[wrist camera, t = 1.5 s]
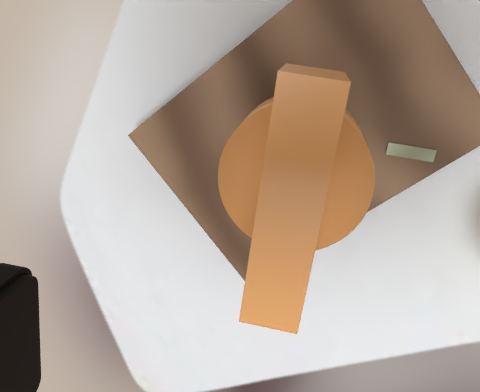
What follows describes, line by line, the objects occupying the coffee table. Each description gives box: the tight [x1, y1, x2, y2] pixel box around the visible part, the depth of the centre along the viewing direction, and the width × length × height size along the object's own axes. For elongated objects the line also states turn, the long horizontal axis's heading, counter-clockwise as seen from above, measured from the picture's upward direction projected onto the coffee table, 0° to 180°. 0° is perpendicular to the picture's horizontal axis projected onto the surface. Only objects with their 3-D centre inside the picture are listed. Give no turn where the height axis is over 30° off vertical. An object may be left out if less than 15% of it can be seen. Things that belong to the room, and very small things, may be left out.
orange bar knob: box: [218, 63, 375, 334], centre depth 20 cm, size 11×7×8 cm, turn 173°
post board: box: [128, 0, 480, 280], centre depth 28 cm, size 20×14×8 cm
